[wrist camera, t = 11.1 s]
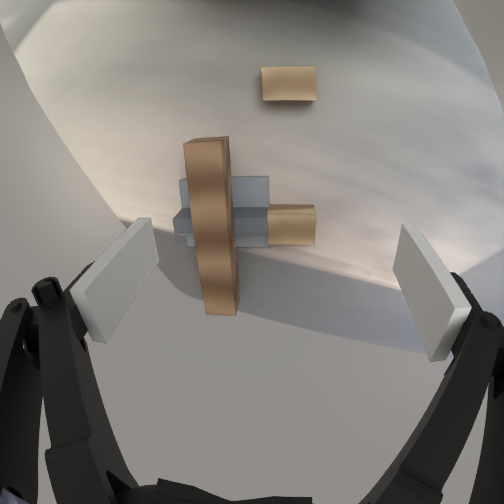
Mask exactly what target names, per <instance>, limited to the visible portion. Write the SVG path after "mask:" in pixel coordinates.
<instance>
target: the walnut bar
mask: <svg viewBox="0 0 504 504" xmlns="http://www.w3.org/2000/svg"><path fill="white" fill-rule="evenodd" d="M183 146H184V156H185V166H186V175H187V184H188V193H189V201H190V209H191V217H192V225H193V233H194V240H195V247H196V254H197V261H198V268H199V274H200V281H201V287H202V293H203V299H204V305H205V311H206V314H207V315H224V316H225V315H226V316H236V312H237V309H238V305H239V301H240V290H239V278H238V265H237V252H236V239H235V225H234V212H233V197H232V183H231V168H230V152H229V136H227V137H211V138H197V139H193V140H190V141H188V142H186V143H184V144H183Z"/></svg>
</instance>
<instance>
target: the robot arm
mask: <svg viewBox="0 0 504 504" xmlns="http://www.w3.org/2000/svg"><path fill="white" fill-rule="evenodd" d="M158 263H159V257H158V253H157V248H156V243H155V238H154V233H153V228H152V222H151V218H138V219H137V220H136V221H135V222H134V223H133V224H132V225H131V226H130V227H129V228H127V229H126V231H125V232H124V233H122V234H121V235H120V236H119V237H118V239H116V241H115V242H114V243H113V244H112V245H111V246H110V247H109V248H108V249H107V250H106V251H105V252H104V253H103V254H102V255H101V256H100V257H99V258H98V259H97V260H96V261H94V262H93V263H91V264H89V265H88V266H86V267H85V269H84V270H83V271H82V272H81V274H79V275H78V276H77V277H76V279H75V280H73V281H72V283H71V284H70V285H69V286H68V287H67V288H66V289H65V290H64V292H63V291H62V289H61V286H60V284H59V281H58V279H57V278H55V277H48V278H44V279H42V280H40V281H39V282H37V283H36V284H35V285H34V286H33V288H32V290H31V291H32V293H33V295H34V298H35V300H36V302H37V304H38V306H33V307H30V305H29V303H28V302H27V299H25V298H18V299H15V300H14V301H11V302H10V304H8V306H7V307H6V309H5V311H4V313H3V316H2V318H1V320H0V504H37V498H38V446H39V444H38V443H39V428H40V415H41V406H42V398H43V399H44V405H45V413H46V419H47V425H48V431H49V436H50V441H51V448H50V449H47V450H46V451H45V461H46V465H47V470H48V474H49V478H50V481H51V485H52V489H53V492H54V495H55V499H56V502H57V504H313V503H312V497H279V496H272V497H265V498H257V499H249V500H240V501H229V500H226V499H223V498H221V497H218V496H216V495H213V494H211V493H208V492H206V491H204V490H201V489H199V488H197V487H194V486H190V485H186V484H181V483H177V482H172V481H168V480H164V479H160V478H158V482H157V485H145V486H140V487H139V485H138V484H137V482H136V481H135V479H134V478H133V476H132V475H131V473H130V472H129V470H128V468H127V466H126V464H125V461H124V459H123V457H122V454H121V452H120V449H119V447H118V444H117V442H116V439H115V436H114V434H113V431H112V428H111V425H110V423H109V420H108V417H107V414H106V411H105V408H104V405H103V402H102V398H101V395H100V392H99V389H98V385H97V382H96V378H95V375H94V371H93V368H92V363H91V359H90V355H89V352H88V347H87V343H86V341H85V339H84V336H85V334H86V333H87V331H88V333H89V335H90V337H91V339H92V341H96V342H100V343H105V344H106V343H107V342H108V340H109V339H110V337H111V335H112V334H113V332H114V330H115V329H116V327H117V325H118V324H119V322H120V321H121V319H122V318H123V316H124V314H125V313H126V311H127V310H128V308H129V307H130V305H131V303H132V302H133V300H134V299H135V297H136V296H137V294H138V293H139V291H140V290H141V288H142V287H143V285H144V283H145V282H146V281H147V279H148V278H149V276H150V275H151V273H152V272H153V270H154V269H155V267H156V266H157V264H158ZM393 271H394V273H395V276H396V278H397V280H398V282H399V285H400V287H401V289H402V292H403V294H404V296H405V299H406V301H407V303H408V306H409V308H410V311H411V313H412V316H413V318H414V321H415V323H416V326H417V329H418V331H419V334H420V336H421V339H422V342H423V345H424V347H425V350H426V353H427V356H428V359H429V361H430V362H435V361H444V360H446V358H447V356H448V355H449V353H450V351H452V353H453V356H454V358H453V360H452V362H451V363H450V365H449V367H448V369H447V370H446V372H445V374H444V375H445V376H444V378H443V380H442V382H441V384H440V386H439V388H438V390H437V392H436V394H435V395H434V397H433V399H432V401H431V403H430V405H429V407H428V408H427V410H426V412H425V413H424V415H423V417H422V419H421V420H420V422H419V423H418V425H417V427H416V428H415V430H414V431H413V433H412V435H411V436H410V438H409V439H408V441H407V442H406V444H405V445H404V447H403V448H402V450H401V451H400V453H399V454H398V455H397V457H396V458H395V460H394V461H393V462H392V464H391V465H390V467H389V468H388V469H387V471H386V472H385V473H384V474H383V476H382V477H381V478H380V480H379V481H378V482H377V483H376V485H375V486H374V487H373V488H372V490H371V491H370V492H369V493H368V494H367V495H366V496H365V498H364V499H363V500H362V501H361V502H360V503H359V504H440V503H441V501H442V498H443V494H442V492H441V491H442V488H443V486H444V484H445V482H446V480H447V479H448V477H449V475H450V473H451V471H452V469H453V468H454V466H455V463H456V462H457V460H458V458H459V456H460V454H461V451H462V449H463V447H464V445H465V443H466V441H467V439H468V436H469V434H470V432H471V429H472V427H473V424H474V422H475V420H476V417H477V415H478V412H479V409H480V406H481V404H482V401H483V398H484V395H485V392H486V389H487V386H488V383H489V387H488V401H487V412H486V422H485V429H484V437H483V443H482V449H481V455H480V460H479V465H478V470H477V474H476V478H475V482H474V486H473V490H472V494H471V498H470V501H469V504H504V327H503V326H502V323H501V321H500V320H499V319H498V318H497V316H495V315H493V314H492V313H489V312H486V311H483V310H482V308H481V307H480V305H479V303H478V302H477V300H476V299H475V297H474V296H473V294H471V291H470V289H469V288H467V285H466V283H465V282H464V280H463V279H462V278H461V277H460V276H458V275H457V274H456V273H455V272H449V271H448V269H447V268H446V266H445V265H444V263H443V262H442V260H441V259H440V257H439V256H438V255H437V253H436V252H435V250H434V249H433V248H432V246H431V245H430V243H429V242H428V241H427V239H426V238H425V237H424V235H423V234H422V233H421V231H420V230H419V229H418V227H417V226H416V225H415V224H402V228H401V233H400V238H399V243H398V248H397V252H396V257H395V262H394V266H393ZM23 345H24V349H23Z"/></svg>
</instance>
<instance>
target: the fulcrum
mask: <svg viewBox="0 0 504 504" xmlns="http://www.w3.org/2000/svg"><path fill="white" fill-rule="evenodd" d="M231 183H232V197H233V212H234V225H235V239H236V247H270V244H268V225H267V214H268V208H269V181H268V176H238V177H231ZM179 186H180V194H181V201H182V209H181V210H180V212H179V213H178V214H177V215H176V216H175V217H174V218H173V224H174V230H175V233H186V237H187V243H188V247H195V240H194V233H193V225H192V217H191V209H190V201H189V193H188V184H187V179H181V180H179Z"/></svg>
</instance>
